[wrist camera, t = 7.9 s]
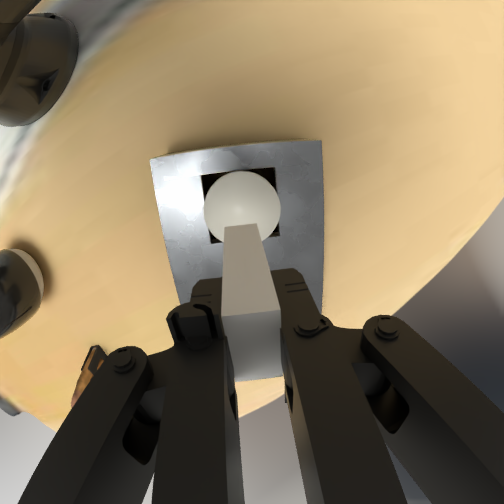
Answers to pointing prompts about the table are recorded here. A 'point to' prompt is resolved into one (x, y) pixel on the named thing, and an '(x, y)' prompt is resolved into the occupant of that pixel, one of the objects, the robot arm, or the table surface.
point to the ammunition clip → (88, 370)
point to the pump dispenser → (18, 289)
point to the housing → (276, 244)
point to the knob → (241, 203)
